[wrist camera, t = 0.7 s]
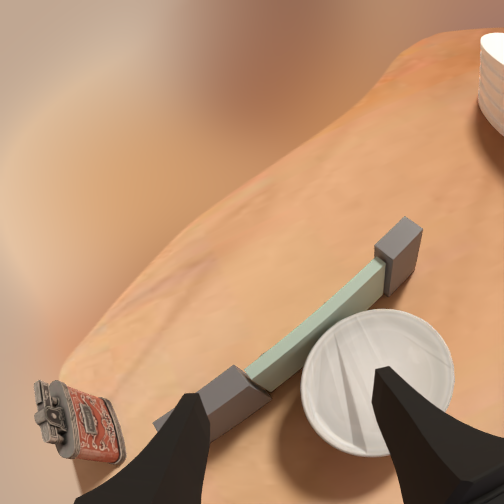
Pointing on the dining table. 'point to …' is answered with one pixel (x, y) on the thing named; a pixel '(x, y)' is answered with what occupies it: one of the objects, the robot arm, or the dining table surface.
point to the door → (318, 327)
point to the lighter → (78, 423)
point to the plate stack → (492, 80)
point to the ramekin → (370, 375)
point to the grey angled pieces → (255, 396)
